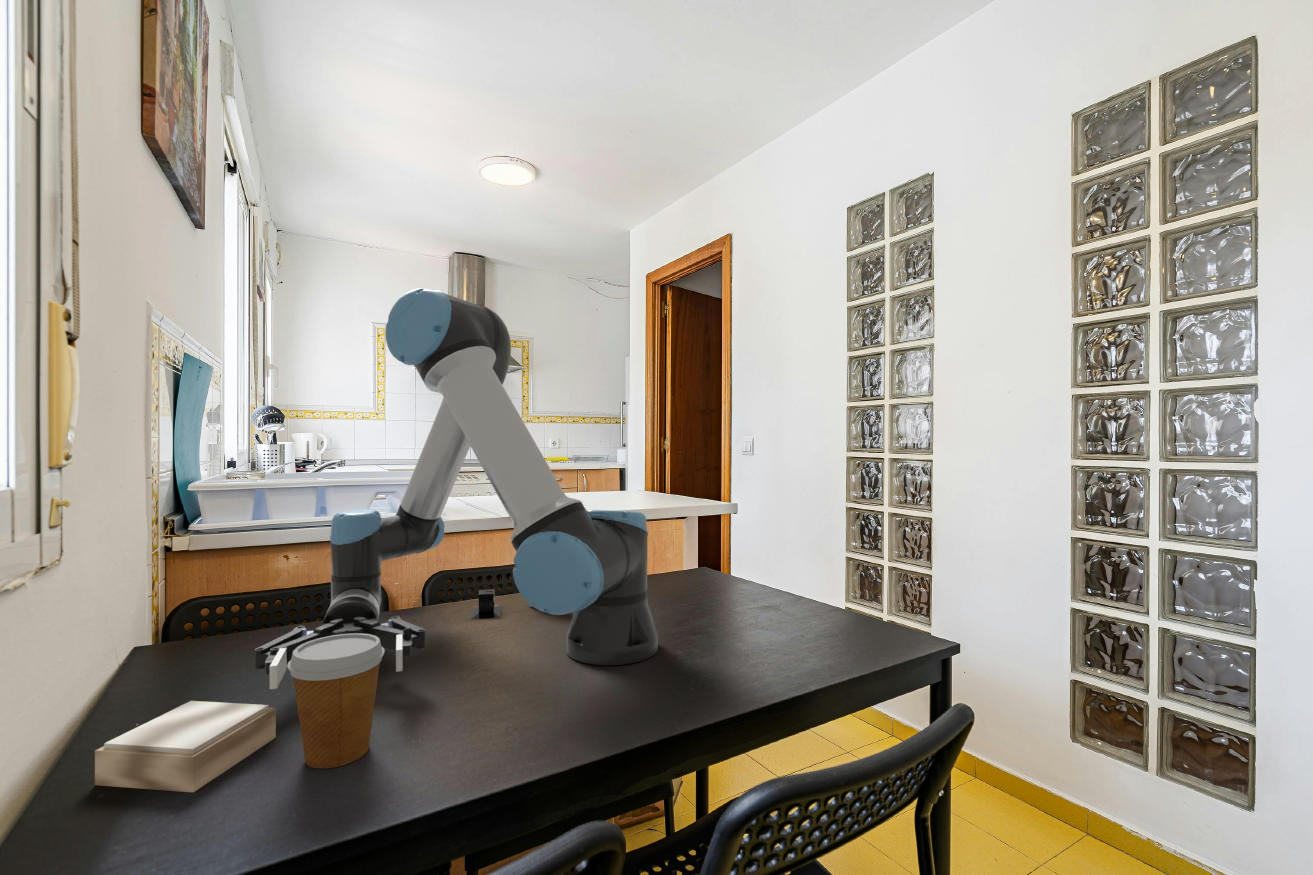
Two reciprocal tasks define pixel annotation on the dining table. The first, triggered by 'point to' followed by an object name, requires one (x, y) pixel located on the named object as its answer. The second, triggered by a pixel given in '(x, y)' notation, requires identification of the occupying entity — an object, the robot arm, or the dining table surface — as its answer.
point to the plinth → (185, 746)
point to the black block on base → (486, 606)
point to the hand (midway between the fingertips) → (338, 668)
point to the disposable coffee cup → (336, 696)
